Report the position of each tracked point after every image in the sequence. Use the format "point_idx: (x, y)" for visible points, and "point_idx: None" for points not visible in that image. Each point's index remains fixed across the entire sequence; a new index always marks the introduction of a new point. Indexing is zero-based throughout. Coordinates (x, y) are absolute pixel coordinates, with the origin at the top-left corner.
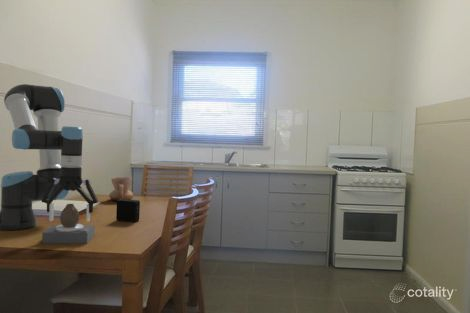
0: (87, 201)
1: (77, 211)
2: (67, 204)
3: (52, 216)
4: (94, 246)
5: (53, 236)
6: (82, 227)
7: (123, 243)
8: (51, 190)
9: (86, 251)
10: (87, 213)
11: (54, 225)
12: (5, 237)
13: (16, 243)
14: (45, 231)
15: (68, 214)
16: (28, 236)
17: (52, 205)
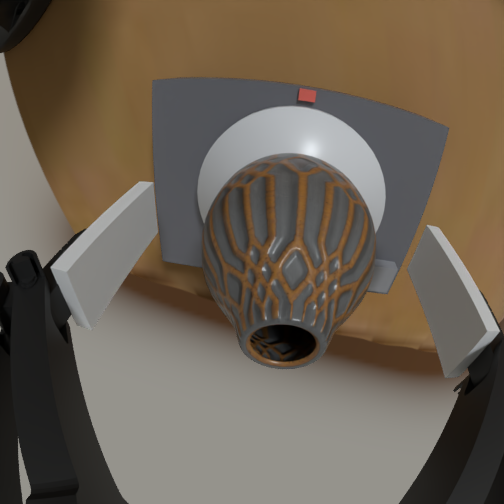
0: (458, 408)
1: (363, 297)
2: (251, 359)
3: (140, 223)
4: (394, 296)
5: None
6: (375, 230)
7: (485, 274)
8: (1, 436)
9: (359, 335)
10: (431, 316)
11: (165, 90)
12: (32, 141)
13: (95, 220)
14: (166, 238)
15: (282, 326)
16: (85, 115)
17: (90, 296)
